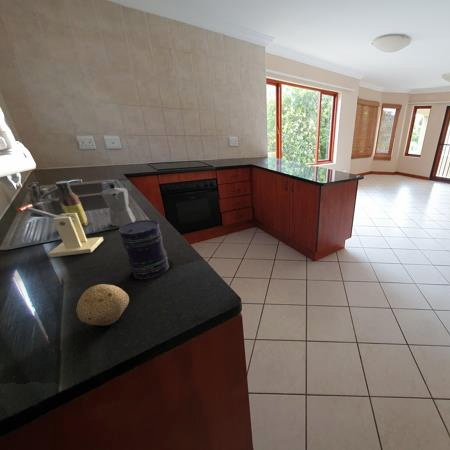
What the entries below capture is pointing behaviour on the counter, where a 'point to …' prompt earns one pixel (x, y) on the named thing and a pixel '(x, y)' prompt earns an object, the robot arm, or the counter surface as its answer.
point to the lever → (39, 212)
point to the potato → (102, 304)
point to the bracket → (72, 237)
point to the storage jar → (144, 248)
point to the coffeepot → (118, 206)
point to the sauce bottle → (70, 202)
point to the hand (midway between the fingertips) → (15, 188)
